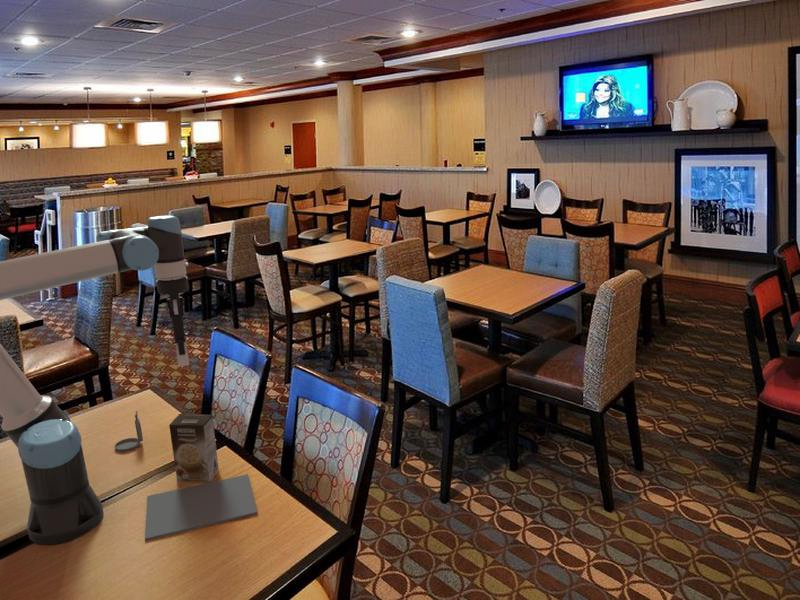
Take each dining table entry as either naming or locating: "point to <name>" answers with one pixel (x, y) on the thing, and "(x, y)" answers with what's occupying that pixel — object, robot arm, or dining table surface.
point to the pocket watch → (131, 442)
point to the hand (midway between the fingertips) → (183, 362)
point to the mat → (199, 506)
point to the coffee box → (194, 447)
